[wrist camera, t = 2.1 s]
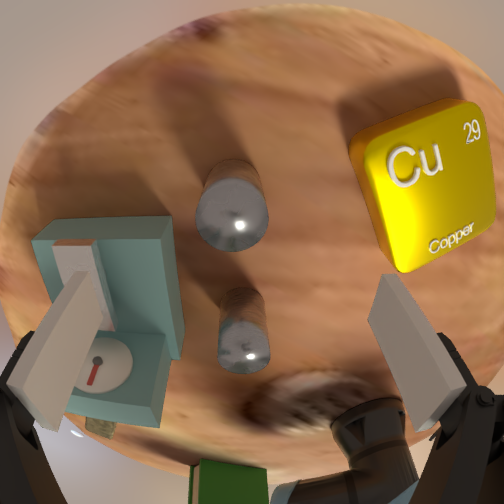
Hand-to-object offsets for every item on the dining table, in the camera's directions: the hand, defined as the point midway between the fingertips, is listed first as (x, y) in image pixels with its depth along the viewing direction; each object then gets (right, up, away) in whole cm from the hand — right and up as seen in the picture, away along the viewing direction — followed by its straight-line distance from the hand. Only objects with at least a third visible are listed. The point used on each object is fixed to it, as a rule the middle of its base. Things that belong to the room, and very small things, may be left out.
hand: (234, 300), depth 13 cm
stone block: (-26, -26, +33) cm, 50 cm away
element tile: (+19, +10, +15) cm, 26 cm away
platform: (-14, 0, +13) cm, 19 cm away
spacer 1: (-1, +8, +15) cm, 17 cm away
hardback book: (-5, -52, +49) cm, 71 cm away
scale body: (-14, -1, +19) cm, 24 cm away
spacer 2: (0, -4, +22) cm, 22 cm away
